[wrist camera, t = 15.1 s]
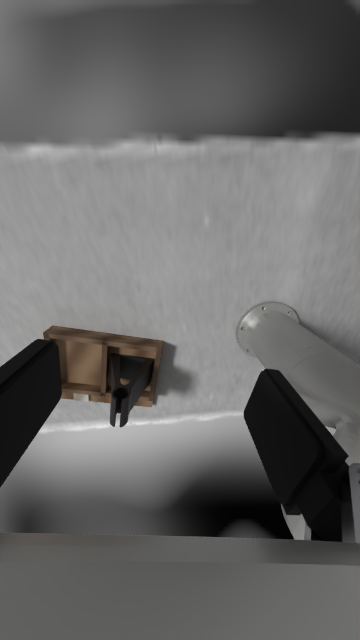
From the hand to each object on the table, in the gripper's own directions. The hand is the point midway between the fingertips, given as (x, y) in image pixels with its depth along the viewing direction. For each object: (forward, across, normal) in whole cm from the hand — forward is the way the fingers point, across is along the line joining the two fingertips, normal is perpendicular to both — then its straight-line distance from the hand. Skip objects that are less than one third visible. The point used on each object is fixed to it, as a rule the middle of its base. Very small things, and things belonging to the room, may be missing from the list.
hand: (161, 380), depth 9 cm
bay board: (+28, +10, +23) cm, 38 cm away
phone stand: (+28, +5, +21) cm, 35 cm away
